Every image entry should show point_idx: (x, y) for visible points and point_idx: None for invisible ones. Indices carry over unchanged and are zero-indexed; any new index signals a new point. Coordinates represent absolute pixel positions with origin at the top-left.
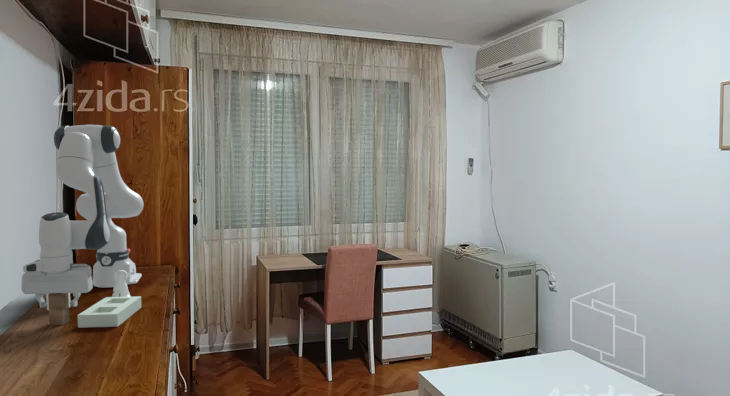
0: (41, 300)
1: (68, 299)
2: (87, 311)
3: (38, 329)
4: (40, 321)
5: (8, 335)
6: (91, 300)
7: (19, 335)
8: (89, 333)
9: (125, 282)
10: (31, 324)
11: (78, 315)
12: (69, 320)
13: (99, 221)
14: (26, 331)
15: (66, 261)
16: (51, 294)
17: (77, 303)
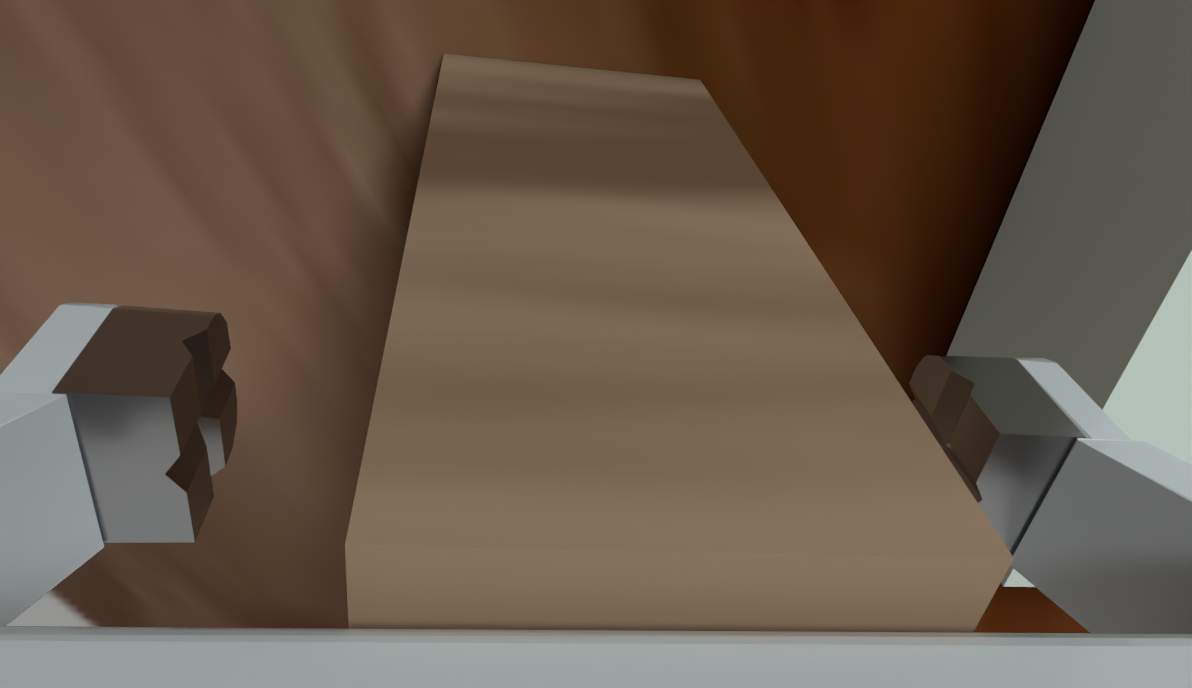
0: (47, 542)
1: (851, 318)
2: (1172, 435)
3: (361, 441)
4: (83, 8)
5: (84, 598)
6: None
7: (243, 607)
8: (1057, 613)
9: None
10: (37, 185)
11: (1014, 579)
12: (700, 80)
13: None
14: (229, 495)
15: None
16: None
17: (1067, 375)
